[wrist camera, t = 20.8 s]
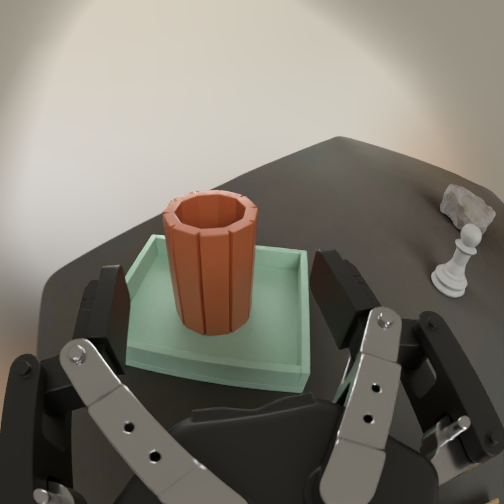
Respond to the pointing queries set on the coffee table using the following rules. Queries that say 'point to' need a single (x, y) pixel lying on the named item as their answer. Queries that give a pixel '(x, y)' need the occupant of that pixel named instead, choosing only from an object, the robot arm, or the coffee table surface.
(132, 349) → the tray
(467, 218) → the stone
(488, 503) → the peg stand
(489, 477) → the coffee table surface
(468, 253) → the chess piece
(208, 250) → the ring collar
